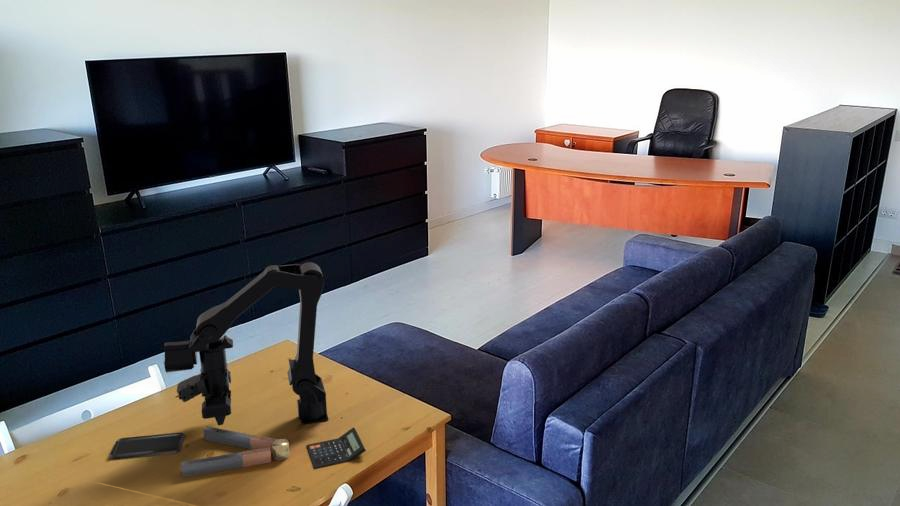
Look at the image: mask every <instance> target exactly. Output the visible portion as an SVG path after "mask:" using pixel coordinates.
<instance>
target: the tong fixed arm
mask: <svg viewBox="0 0 900 506" xmlns="http://www.w3.org/2000/svg"><path fill="white" fill-rule="evenodd" d="M271 454H272V453H271V452H270V447H268V448H262V449H256V450H252V449H249V450H245V451H239V452H232V453H228V454H221V455H216V456H211V457H210V456H209V457H205V458H203V457H202V458H198V459H192V460H186V461H181V462H180V468H181V469H180V470H181V476H182V478H187V477H191V476H197V475H204V474H208V473H215V472H220V471H226V470H232V469H237V468H245V467H253V466H259V465H263V464H268V463H270V464H271V463H272V455H271Z"/></svg>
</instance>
